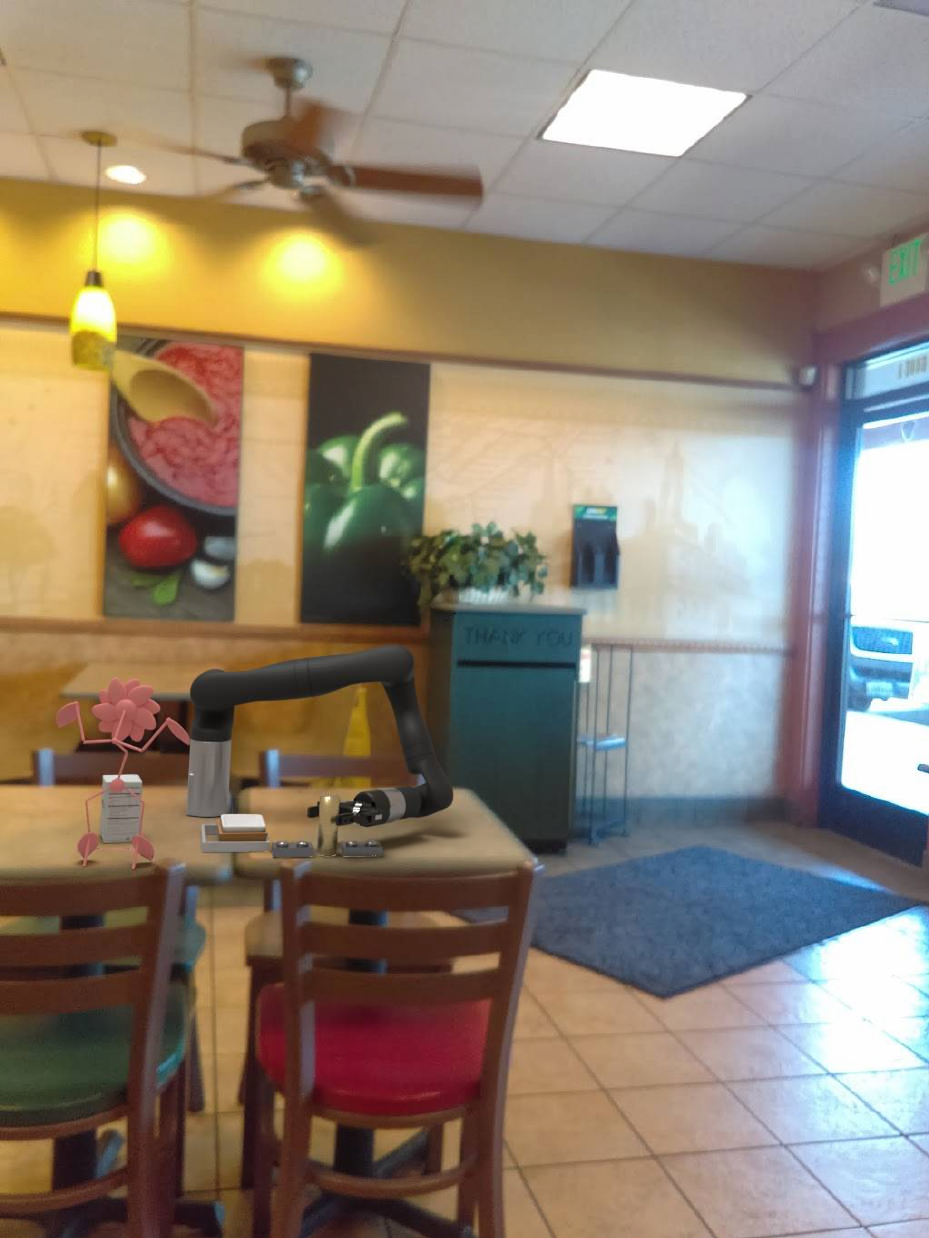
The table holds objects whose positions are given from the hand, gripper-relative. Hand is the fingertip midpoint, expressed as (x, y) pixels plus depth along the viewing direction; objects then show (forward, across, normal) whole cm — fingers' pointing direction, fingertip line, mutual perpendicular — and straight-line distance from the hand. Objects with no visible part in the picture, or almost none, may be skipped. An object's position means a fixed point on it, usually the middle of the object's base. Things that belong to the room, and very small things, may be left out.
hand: (322, 816), depth 214 cm
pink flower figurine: (+32, -21, +8) cm, 39 cm away
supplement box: (+24, -35, +8) cm, 43 cm away
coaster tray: (+7, -18, +8) cm, 21 cm away
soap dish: (+6, -18, +8) cm, 21 cm away
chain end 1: (+4, -4, +8) cm, 10 cm away
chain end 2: (-8, +4, +8) cm, 12 cm away
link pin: (-2, 0, +8) cm, 8 cm away
